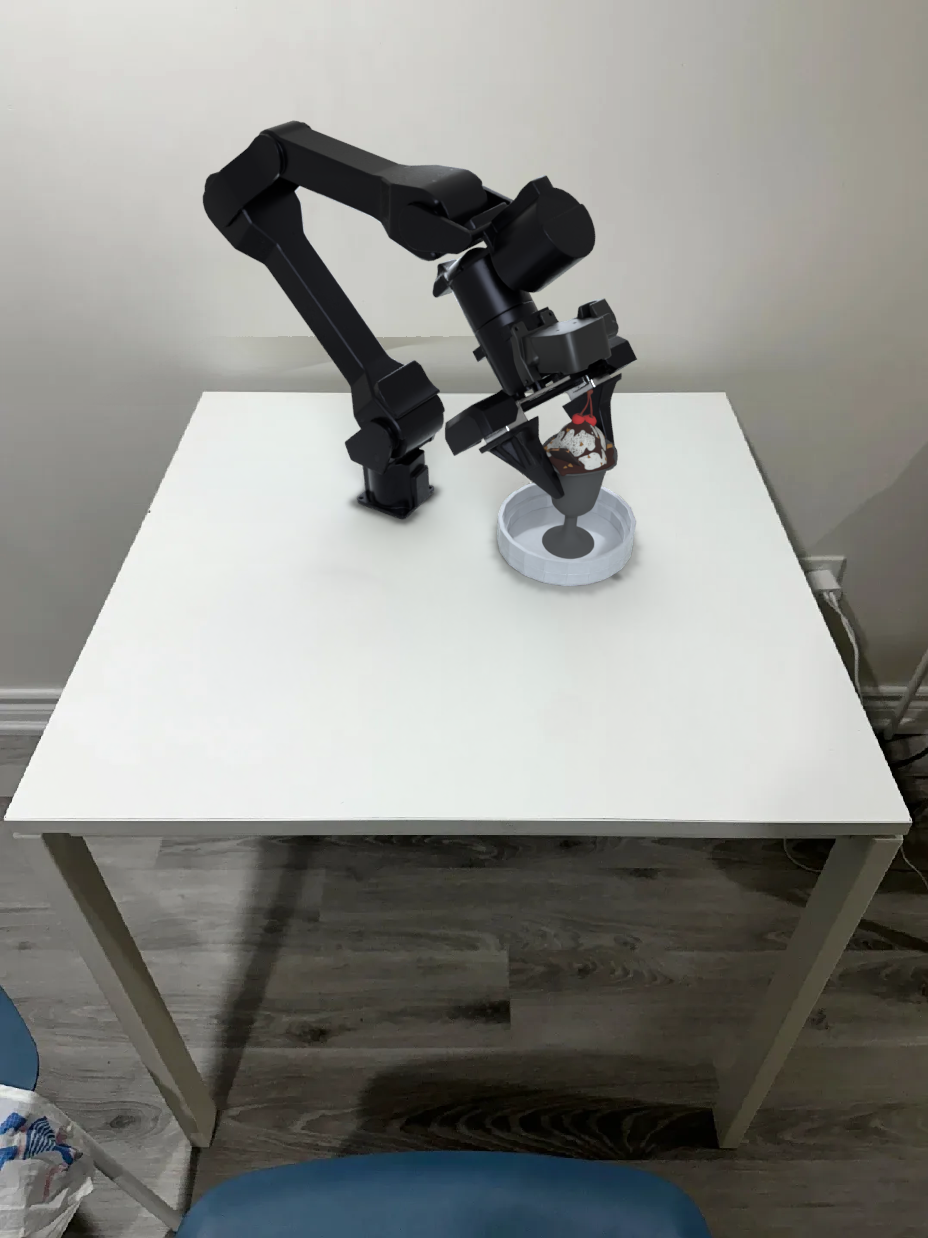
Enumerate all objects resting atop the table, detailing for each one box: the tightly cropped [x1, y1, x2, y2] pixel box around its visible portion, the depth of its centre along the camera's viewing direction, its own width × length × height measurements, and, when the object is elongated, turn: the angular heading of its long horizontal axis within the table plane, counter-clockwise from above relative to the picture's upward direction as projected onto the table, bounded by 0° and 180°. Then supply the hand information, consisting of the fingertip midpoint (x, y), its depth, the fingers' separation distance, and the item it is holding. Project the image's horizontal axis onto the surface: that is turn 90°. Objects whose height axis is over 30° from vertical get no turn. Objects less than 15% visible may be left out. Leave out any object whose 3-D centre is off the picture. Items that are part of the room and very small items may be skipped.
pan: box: [496, 482, 637, 587], centre depth 92 cm, size 14×14×4 cm
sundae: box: [542, 390, 619, 559], centre depth 78 cm, size 7×7×15 cm
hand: (586, 482), depth 77 cm, fingers closed on sundae, 6 cm apart
